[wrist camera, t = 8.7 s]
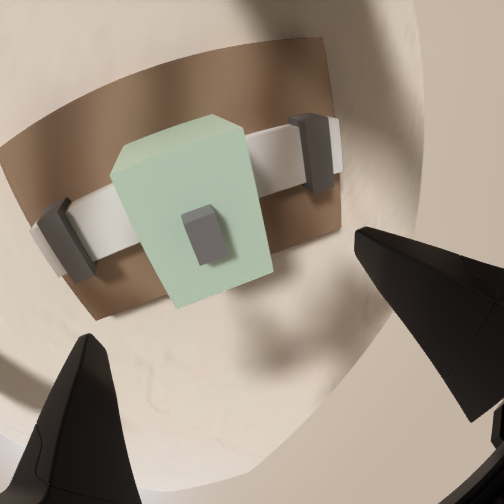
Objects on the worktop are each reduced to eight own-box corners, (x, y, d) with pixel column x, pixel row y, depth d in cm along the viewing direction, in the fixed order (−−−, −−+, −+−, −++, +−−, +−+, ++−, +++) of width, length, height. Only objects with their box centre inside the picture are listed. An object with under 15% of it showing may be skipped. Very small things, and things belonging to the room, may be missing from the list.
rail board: (309, 39, 14) (341, 34, 11) (330, 218, 22) (356, 240, 19) (5, 145, 11) (-21, 160, 8) (97, 307, 19) (94, 340, 17)
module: (212, 113, 14) (250, 130, 9) (240, 221, 18) (280, 281, 13) (123, 145, 13) (106, 182, 8) (166, 249, 17) (179, 321, 12)
